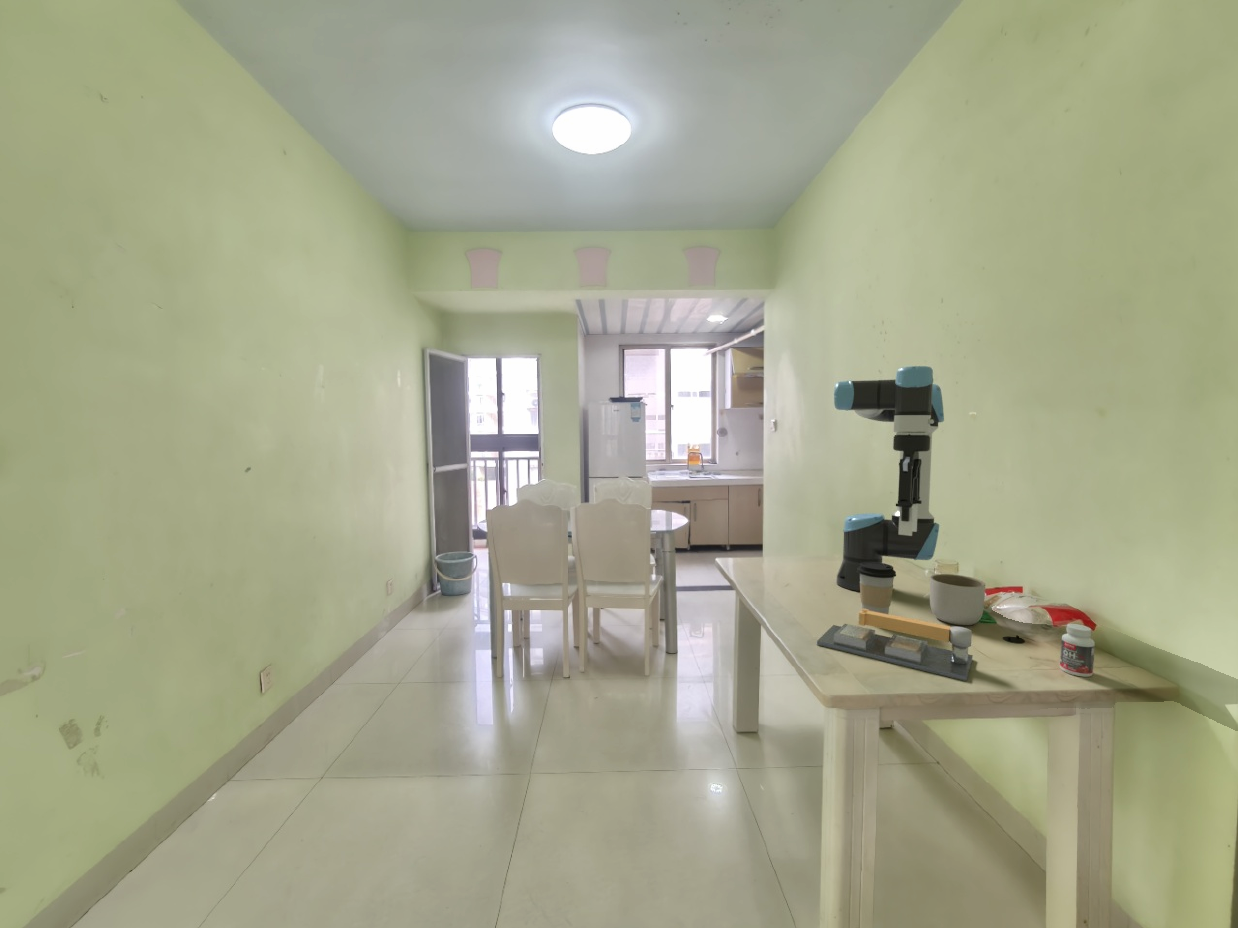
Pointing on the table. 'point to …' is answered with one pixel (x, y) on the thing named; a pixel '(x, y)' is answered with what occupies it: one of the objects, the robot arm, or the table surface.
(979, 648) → the table surface
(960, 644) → the swing arm
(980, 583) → the planter
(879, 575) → the coffee cup
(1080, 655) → the pill bottle
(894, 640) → the grey switch panel
